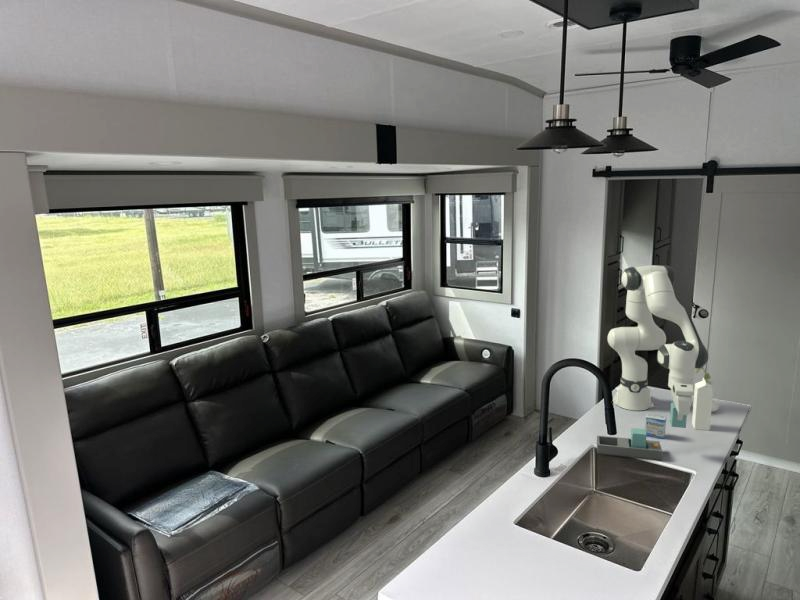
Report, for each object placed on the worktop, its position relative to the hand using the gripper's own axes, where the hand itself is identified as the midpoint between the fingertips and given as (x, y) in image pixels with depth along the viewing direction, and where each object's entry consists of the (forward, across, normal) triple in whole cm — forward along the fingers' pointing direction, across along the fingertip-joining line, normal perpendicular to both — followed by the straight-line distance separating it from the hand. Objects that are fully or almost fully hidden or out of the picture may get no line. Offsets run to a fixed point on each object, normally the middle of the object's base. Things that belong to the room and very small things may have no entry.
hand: (678, 416), depth 220 cm
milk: (+17, -28, +14) cm, 35 cm away
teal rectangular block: (+4, 0, 0) cm, 4 cm away
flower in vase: (+17, -48, +19) cm, 54 cm away
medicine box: (+16, -14, -6) cm, 23 cm away
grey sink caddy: (+16, +3, -18) cm, 24 cm away
